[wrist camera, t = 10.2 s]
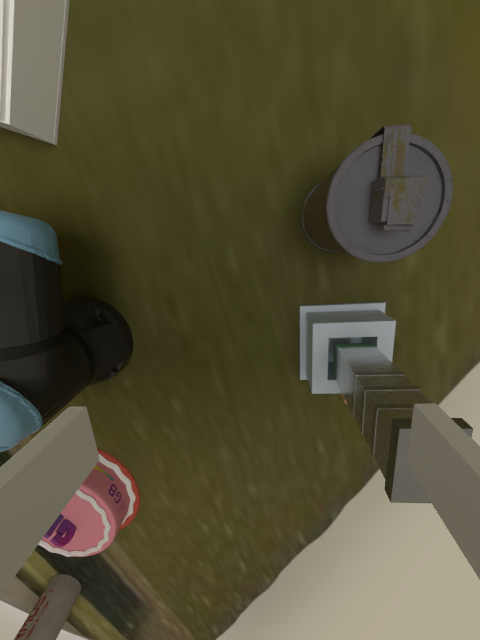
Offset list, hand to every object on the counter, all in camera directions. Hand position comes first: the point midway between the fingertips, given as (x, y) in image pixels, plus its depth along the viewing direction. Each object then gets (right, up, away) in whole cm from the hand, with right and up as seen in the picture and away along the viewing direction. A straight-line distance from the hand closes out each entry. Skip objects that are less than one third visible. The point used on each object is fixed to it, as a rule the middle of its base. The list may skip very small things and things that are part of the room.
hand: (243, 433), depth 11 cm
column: (+16, -1, +28) cm, 32 cm away
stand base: (+16, +1, +35) cm, 38 cm away
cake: (-34, -32, +50) cm, 68 cm away
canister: (+14, +20, +29) cm, 38 cm away
